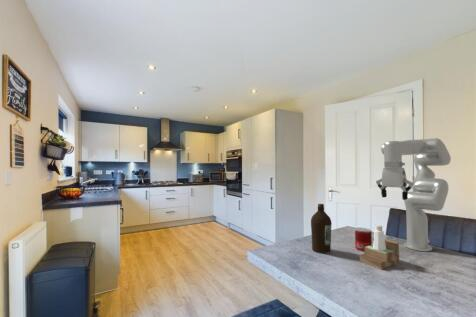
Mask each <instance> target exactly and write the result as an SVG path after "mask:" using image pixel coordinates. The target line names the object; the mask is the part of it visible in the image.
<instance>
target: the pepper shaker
mask: <svg viewBox="0 0 476 317" xmlns="http://www.w3.org/2000/svg"><path fill="white" fill-rule="evenodd" d="M373 238H374V242H373V241H372V245H373V248H374V249H376V250H380V251H384V250H386V245H385V239H386V237H385V233H384V231H383V226H382V224H381V225H380V224H376V225H375V229H374V234H373Z"/></svg>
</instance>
